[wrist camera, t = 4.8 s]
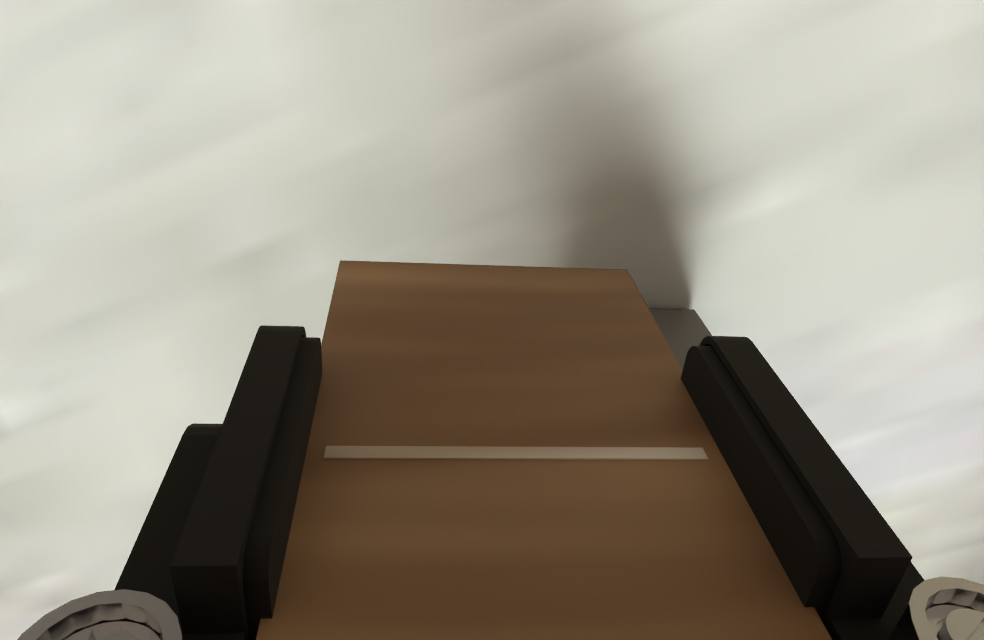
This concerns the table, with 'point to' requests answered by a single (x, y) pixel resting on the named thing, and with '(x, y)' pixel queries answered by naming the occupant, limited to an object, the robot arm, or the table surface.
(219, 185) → the table surface
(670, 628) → the domino
